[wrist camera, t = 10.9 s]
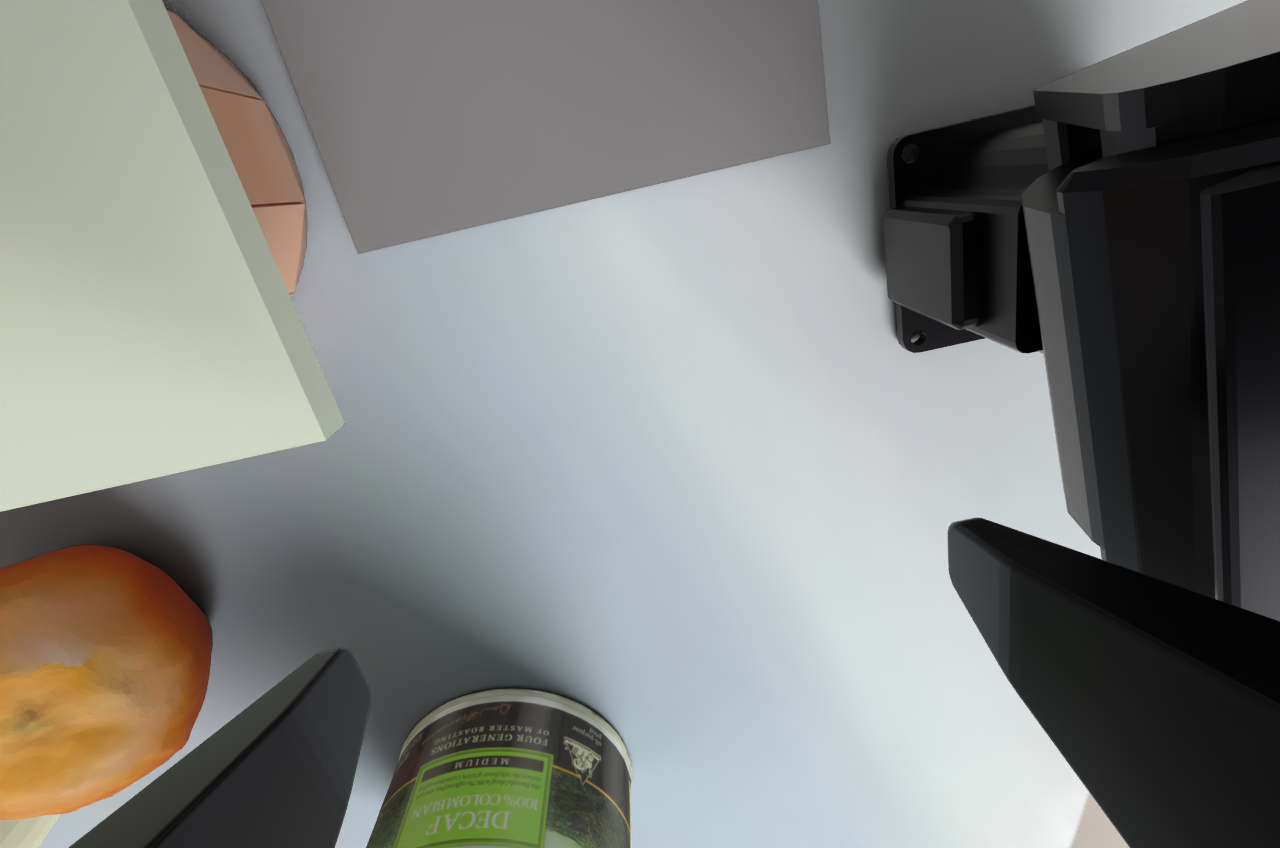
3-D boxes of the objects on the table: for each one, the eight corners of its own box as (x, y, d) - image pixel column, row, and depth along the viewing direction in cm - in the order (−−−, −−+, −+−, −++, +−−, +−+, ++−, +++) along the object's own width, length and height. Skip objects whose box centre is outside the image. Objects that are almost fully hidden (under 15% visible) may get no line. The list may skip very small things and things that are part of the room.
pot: (208, -57, 15) (-22, -192, 10) (359, 322, 19) (254, 380, 14) (-153, 36, 16) (-567, -41, 10) (63, 390, 20) (-156, 473, 14)
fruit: (-106, 622, 21) (-307, 751, 14) (131, 483, 24) (61, 533, 17) (77, 767, 24) (-14, 934, 17) (270, 627, 27) (260, 720, 20)
